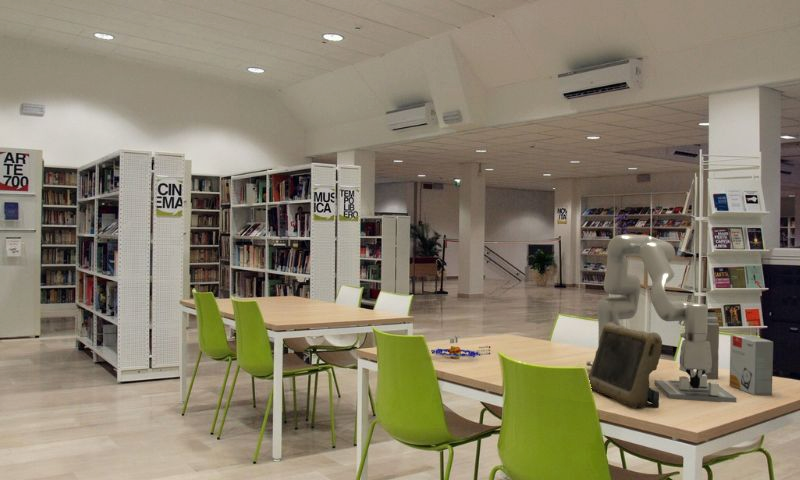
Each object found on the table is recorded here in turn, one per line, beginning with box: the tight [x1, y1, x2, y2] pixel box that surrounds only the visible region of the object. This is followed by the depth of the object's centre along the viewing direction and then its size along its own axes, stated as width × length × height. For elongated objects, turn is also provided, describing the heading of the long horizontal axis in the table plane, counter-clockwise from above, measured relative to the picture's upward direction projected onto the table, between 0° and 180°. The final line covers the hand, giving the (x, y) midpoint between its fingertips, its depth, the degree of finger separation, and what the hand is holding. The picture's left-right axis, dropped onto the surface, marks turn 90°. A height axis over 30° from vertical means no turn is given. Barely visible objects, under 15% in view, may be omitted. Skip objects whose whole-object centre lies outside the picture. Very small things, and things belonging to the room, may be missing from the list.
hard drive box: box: [729, 334, 774, 396], centre depth 246 cm, size 16×8×20 cm, turn 5°
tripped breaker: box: [678, 375, 690, 390], centre depth 238 cm, size 3×3×4 cm
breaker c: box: [700, 374, 708, 387], centre depth 243 cm, size 3×3×4 cm
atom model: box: [428, 335, 492, 360], centre depth 304 cm, size 35×26×10 cm
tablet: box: [587, 322, 663, 410], centre depth 231 cm, size 33×14×25 cm, turn 16°
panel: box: [654, 379, 737, 403], centre depth 240 cm, size 22×25×2 cm
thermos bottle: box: [704, 308, 720, 380], centre depth 270 cm, size 8×8×28 cm
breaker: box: [708, 381, 720, 396], centre depth 229 cm, size 3×3×4 cm
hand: (694, 387), depth 237 cm, fingers closed
